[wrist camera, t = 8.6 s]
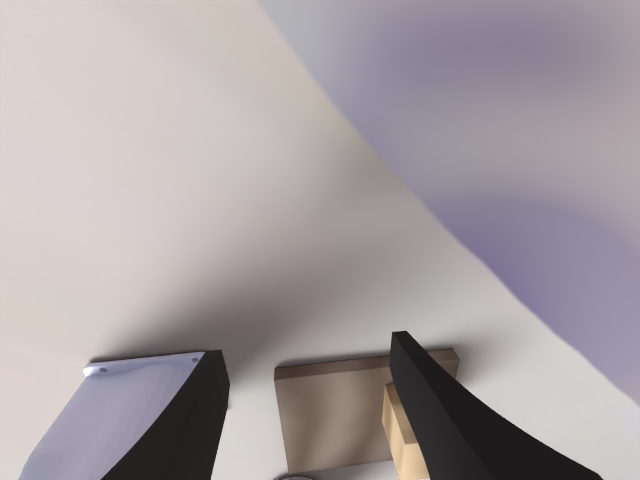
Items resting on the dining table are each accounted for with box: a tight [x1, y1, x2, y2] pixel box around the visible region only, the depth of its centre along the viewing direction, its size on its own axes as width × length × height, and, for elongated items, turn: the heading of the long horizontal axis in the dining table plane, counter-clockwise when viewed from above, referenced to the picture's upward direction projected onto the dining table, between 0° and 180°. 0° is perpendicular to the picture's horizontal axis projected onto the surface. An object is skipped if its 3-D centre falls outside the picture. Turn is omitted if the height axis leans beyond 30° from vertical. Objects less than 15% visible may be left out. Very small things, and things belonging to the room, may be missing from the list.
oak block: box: [382, 384, 430, 480], centre depth 25 cm, size 5×5×5 cm
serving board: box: [274, 349, 459, 474], centre depth 29 cm, size 16×14×1 cm
